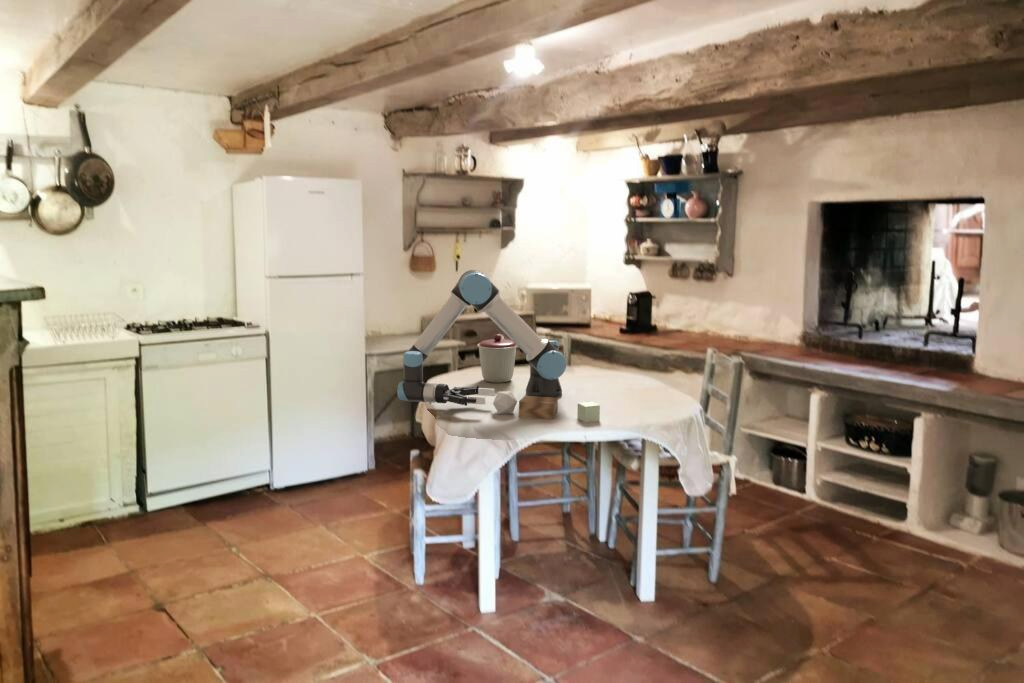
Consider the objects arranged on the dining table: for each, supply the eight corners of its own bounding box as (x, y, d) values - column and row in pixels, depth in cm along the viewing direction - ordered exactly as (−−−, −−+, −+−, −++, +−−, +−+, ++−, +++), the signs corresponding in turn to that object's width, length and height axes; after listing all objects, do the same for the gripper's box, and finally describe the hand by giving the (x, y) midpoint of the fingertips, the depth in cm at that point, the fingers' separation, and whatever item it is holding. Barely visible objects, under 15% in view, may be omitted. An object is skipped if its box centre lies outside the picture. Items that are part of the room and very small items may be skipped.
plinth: (519, 416, 297) (519, 401, 296) (524, 410, 306) (524, 395, 305) (553, 419, 294) (553, 403, 293) (557, 413, 303) (557, 397, 301)
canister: (514, 385, 347) (514, 338, 344) (473, 384, 350) (473, 337, 346) (520, 377, 365) (520, 331, 361) (481, 375, 368) (481, 330, 364)
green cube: (591, 417, 298) (591, 401, 297) (599, 421, 292) (599, 405, 291) (577, 418, 295) (577, 402, 294) (585, 422, 290) (585, 406, 289)
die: (515, 411, 308) (500, 389, 308) (525, 404, 300) (510, 382, 301) (499, 422, 303) (484, 400, 304) (509, 415, 296) (494, 393, 296)
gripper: (447, 395, 320) (498, 398, 315) (426, 410, 297) (480, 414, 292) (447, 377, 319) (498, 380, 314) (425, 391, 295) (480, 394, 290)
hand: (489, 396), depth 303 cm, fingers open, 13 cm apart
